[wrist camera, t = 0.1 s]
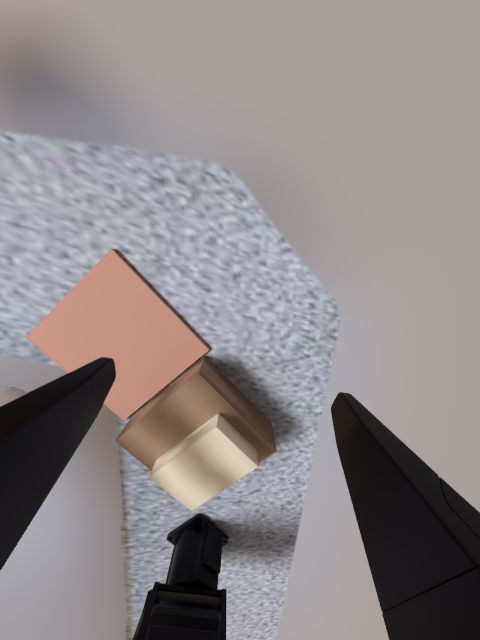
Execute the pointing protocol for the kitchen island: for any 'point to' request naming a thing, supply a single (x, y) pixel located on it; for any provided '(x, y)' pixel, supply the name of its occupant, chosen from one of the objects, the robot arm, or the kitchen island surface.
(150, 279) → the kitchen island surface
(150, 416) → the panel
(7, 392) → the shot glass
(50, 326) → the mat
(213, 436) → the cream rectangular block
